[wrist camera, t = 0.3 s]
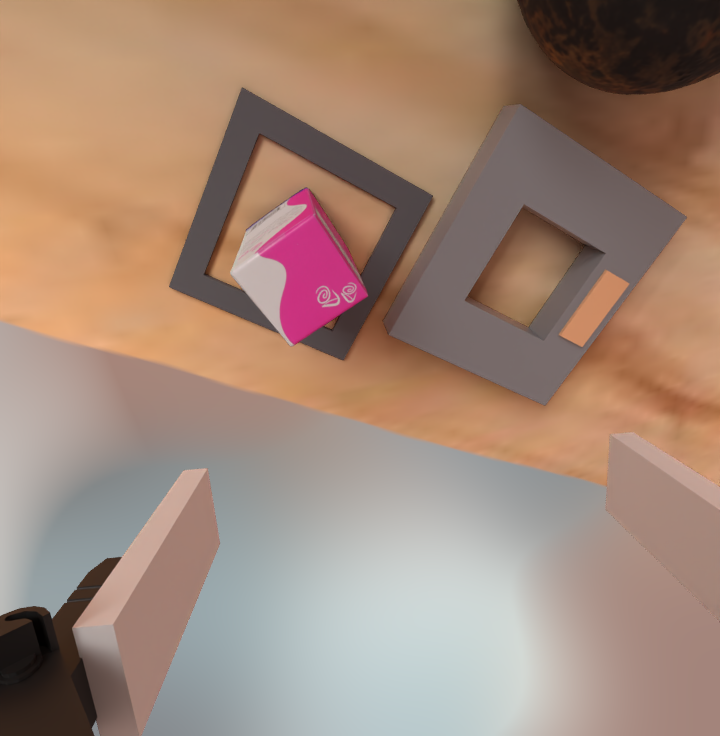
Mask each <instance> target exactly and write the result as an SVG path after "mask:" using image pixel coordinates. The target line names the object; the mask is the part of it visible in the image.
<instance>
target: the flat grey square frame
mask: <svg viewBox="0 0 720 736" xmlns="http://www.w3.org/2000/svg"><path fill="white" fill-rule="evenodd" d="M259 133H260V134H262V135H264V136H265V137H267V138H269V139H271V140H273V141H275V142H276V143H278V144H280V145H282V146H284V147H286V148H287V149H289V150H291V151H293V152H295V153H297V154H298V155H300V156H302V157H304V158H306V159H308V160H309V161H311V162H313V163H315V164H317V165H319V166H320V167H322V168H324V169H326V170H328V171H330V172H331V173H333V174H335V175H337V176H339V177H341V178H342V179H344V180H346V181H348V182H350V183H352V184H353V185H355V186H357V187H359V188H361V189H363V190H364V191H366V192H368V193H370V194H372V195H374V196H375V197H377V198H379V199H381V200H383V201H385V202H386V203H388V204H390V205H392V206H394V207H396V209H395V211H394V213H393V215H392V217H391V218H390V220H389V222H388V224H387V226H386V228H385V230H384V232H383V234H382V236H381V238H380V240H379V241H378V243H377V245H376V247H375V249H374V251H373V253H372V255H371V257H370V259H369V261H368V263H367V264H366V266H365V268H364V270H363V272H362V274H361V276H360V277H361V279H362V281H363V283H364V286H365V288H366V290H367V293H368V297H366V298H365V299H363V300H362V301H360V302H359V303H357V304H356V305H354V306H353V307H351V308H350V309H348V310H347V311H345V312H344V313H342V314H341V315H340V316H339V318H338V320H337V322H336V324H335V326H334V328H333V330H331V329H329V328H327V327H325V326H323V327H321V328H320V329H318V330H316V331H315V332H313V333H312V334H310V335H309V336H307V337H306V338H304V339H303V340H301V341H300V342H301V343H303V344H305V345H308V346H310V347H312V348H315V349H317V350H320V351H322V352H324V353H327V354H329V355H331V356H334V357H336V358H338V359H341V360H344V358H345V357H346V355H347V353H348V351H349V349H350V347H351V346H352V344H353V342H354V340H355V338H356V336H357V335H358V333H359V331H360V329H361V327H362V325H363V324H364V322H365V320H366V318H367V316H368V314H369V313H370V311H371V309H372V307H373V305H374V303H375V302H376V300H377V298H378V296H379V294H380V292H381V291H382V289H383V287H384V285H385V283H386V281H387V280H388V278H389V276H390V274H391V272H392V270H393V268H394V267H395V265H396V263H397V261H398V259H399V257H400V256H401V254H402V252H403V250H404V248H405V246H406V245H407V243H408V241H409V239H410V237H411V235H412V234H413V232H414V230H415V228H416V226H417V224H418V223H419V221H420V219H421V217H422V215H423V213H424V212H425V210H426V208H427V206H428V204H429V202H430V201H431V199H432V197H433V196H432V195H431V194H429V193H427V192H425V191H424V190H422V189H420V188H418V187H416V186H415V185H413V184H411V183H409V182H408V181H406V180H404V179H402V178H401V177H399V176H397V175H395V174H394V173H392V172H390V171H388V170H387V169H385V168H383V167H381V166H380V165H378V164H376V163H374V162H372V161H371V160H369V159H367V158H365V157H364V156H362V155H360V154H358V153H357V152H355V151H353V150H351V149H350V148H348V147H346V146H344V145H343V144H341V143H339V142H337V141H336V140H334V139H332V138H330V137H329V136H327V135H325V134H323V133H321V132H320V131H318V130H316V129H314V128H313V127H311V126H309V125H307V124H306V123H304V122H302V121H300V120H299V119H297V118H295V117H293V116H292V115H290V114H288V113H286V112H285V111H283V110H281V109H279V108H277V107H276V106H274V105H272V104H270V103H269V102H267V101H265V100H263V99H262V98H260V97H258V96H256V95H255V94H253V93H251V92H249V91H248V90H246V89H244V88H242V89H241V92H240V95H239V97H238V100H237V103H236V105H235V108H234V111H233V114H232V116H231V119H230V122H229V125H228V127H227V130H226V133H225V135H224V138H223V141H222V144H221V146H220V149H219V152H218V155H217V157H216V160H215V163H214V165H213V168H212V171H211V174H210V176H209V179H208V182H207V184H206V187H205V190H204V193H203V195H202V198H201V201H200V204H199V206H198V209H197V212H196V214H195V217H194V220H193V223H192V225H191V228H190V231H189V234H188V236H187V239H186V242H185V244H184V247H183V250H182V253H181V255H180V258H179V261H178V264H177V266H176V269H175V272H174V274H173V277H172V280H171V283H170V285H169V287H170V288H172V289H175V290H177V291H180V292H182V293H184V294H187V295H189V296H191V297H194V298H196V299H199V300H201V301H203V302H206V303H208V304H210V305H213V306H215V307H218V308H220V309H222V310H225V311H227V312H229V313H232V314H234V315H236V316H239V317H241V318H244V319H246V320H248V321H251V322H253V323H255V324H258V325H260V326H263V327H265V328H267V329H270V330H272V331H274V332H277V333H279V332H278V330H277V329H276V328H275V327H274V326H273V325H272V323H271V322H270V321H269V320H268V319H267V318H266V316H265V315H264V314H263V313H262V312H261V310H260V309H259V308H258V307H257V306H256V304H255V303H254V302H253V301H252V300H251V299H250V297H249V296H248V295H247V294H246V293H245V291H243V290H240V289H238V288H236V287H233V286H231V285H229V284H227V283H224V282H222V281H220V280H218V279H215V278H213V277H211V276H208V275H206V274H204V273H205V271H206V268H207V266H208V263H209V261H210V258H211V255H212V253H213V250H214V248H215V245H216V243H217V240H218V238H219V235H220V232H221V230H222V227H223V225H224V222H225V220H226V217H227V215H228V212H229V209H230V207H231V204H232V202H233V199H234V197H235V194H236V192H237V189H238V187H239V184H240V181H241V179H242V176H243V174H244V171H245V169H246V166H247V164H248V161H249V158H250V156H251V153H252V151H253V148H254V146H255V143H256V141H257V138H258V136H259ZM279 334H280V333H279Z"/></svg>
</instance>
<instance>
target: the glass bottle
mask: <svg viewBox="0 0 720 736" xmlns="http://www.w3.org/2000/svg"><path fill="white" fill-rule="evenodd" d="M517 1H518V4H519V7H520V9H521V12H522V15H523V17H524V20H525V22H526V25H527V27H528V28H529V30H530V32H531V34H532V36H533V37H534V39H535V40H536V42H537V43H538V45H539V46H540V48H541V49H542V50H543V52H544V53H545V54H546V55H547V56H548V57H549V58H550V60H551V61H552V62H553V63H554V64H555V65H557V66H558V67H559V68H560V69H561V70H563V71H564V72H565V73H567V74H568V75H569V76H571V77H573V78H574V79H576V80H578V81H580V82H582V83H584V84H586V85H588V86H590V87H593V88H597V89H600V90H603V91H606V92H611V93H617V94H626V95H629V94H651V93H659V92H665V91H670V90H674V89H678V88H682V87H684V86H688V85H691V84H694V83H697V82H699V81H701V80H704V79H706V78H709V77H711V76H713V75H715V74H717V73H719V72H720V0H517Z"/></svg>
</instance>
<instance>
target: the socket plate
mask: <svg viewBox="0 0 720 736" xmlns="http://www.w3.org/2000/svg"><path fill="white" fill-rule="evenodd" d="M522 207H523V208H524V209H526V210H528V211H529V212H531V213H533V214H534V215H536V216H538V217H539V218H541V219H543V220H544V221H546V222H548V223H550V224H551V225H553V226H555V227H556V228H558V229H560V230H561V231H563V232H565V233H566V234H568V235H570V236H571V237H573V238H575V239H576V240H578V241H580V242H581V243H583V244H585V246H584V248H583V249H582V251H581V252H580V253H579V255H578V256H577V258H576V259H575V261H574V262H573V264H572V265H571V266H570V268H569V269H568V271H567V272H566V274H565V275H564V277H563V278H562V280H561V281H560V282H559V284H558V285H557V287H556V288H555V290H554V291H553V293H552V294H551V296H550V297H549V298H548V300H547V301H546V303H545V304H544V306H543V307H542V309H541V310H540V311H539V313H538V314H537V316H536V317H535V319H534V320H533V322H532V323H531V325H530V326H529V327H527V326H525V325H523V324H521V323H519V322H517V321H515V320H513V319H511V318H509V317H507V316H505V315H503V314H501V313H499V312H497V311H495V310H493V309H491V308H489V307H487V306H485V305H483V304H481V303H479V302H477V301H475V300H473V299H471V298H470V297H468V294H469V292H470V291H471V289H472V288H473V286H474V284H475V283H476V281H477V279H478V278H479V276H480V275H481V273H482V271H483V270H484V268H485V267H486V265H487V263H488V262H489V260H490V258H491V257H492V255H493V254H494V252H495V250H496V249H497V247H498V246H499V244H500V242H501V241H502V239H503V237H504V236H505V234H506V233H507V231H508V229H509V228H510V226H511V225H512V223H513V221H514V220H515V218H516V216H517V215H518V213H519V212H520V210H521V208H522ZM686 218H687V217H686V216H685V215H683V214H682V213H681V212H679V211H678V210H676V209H675V208H673V207H672V206H670V205H669V204H667V203H666V202H664V201H663V200H661V199H660V198H658V197H657V196H655V195H654V194H653V193H651V192H650V191H648V190H647V189H645V188H644V187H642V186H641V185H639V184H638V183H636V182H635V181H633V180H632V179H630V178H629V177H627V176H626V175H625V174H623V173H622V172H620V171H619V170H617V169H616V168H614V167H613V166H611V165H610V164H608V163H607V162H605V161H604V160H602V159H601V158H599V157H598V156H596V155H595V154H594V153H592V152H591V151H589V150H588V149H586V148H585V147H583V146H582V145H580V144H579V143H577V142H576V141H574V140H573V139H571V138H570V137H568V136H567V135H566V134H564V133H563V132H561V131H560V130H558V129H557V128H555V127H554V126H552V125H551V124H549V123H548V122H546V121H545V120H543V119H542V118H540V117H539V116H538V115H536V114H535V113H533V112H532V111H530V110H529V109H527V108H526V107H524V106H523V105H521V104H516V105H507V106H503V108H502V109H501V111H500V113H499V115H498V117H497V118H496V120H495V122H494V124H493V126H492V127H491V129H490V131H489V133H488V134H487V136H486V138H485V140H484V142H483V143H482V145H481V147H480V149H479V151H478V152H477V154H476V156H475V158H474V159H473V161H472V163H471V165H470V167H469V168H468V170H467V172H466V174H465V176H464V177H463V179H462V181H461V183H460V184H459V186H458V188H457V190H456V192H455V193H454V195H453V197H452V199H451V200H450V202H449V204H448V206H447V208H446V209H445V211H444V213H443V215H442V217H441V218H440V220H439V222H438V224H437V225H436V227H435V229H434V231H433V233H432V234H431V236H430V238H429V240H428V242H427V243H426V245H425V247H424V249H423V250H422V252H421V254H420V256H419V258H418V259H417V261H416V263H415V265H414V266H413V268H412V270H411V272H410V274H409V275H408V277H407V279H406V281H405V283H404V284H403V286H402V288H401V290H400V291H399V293H398V295H397V297H396V299H395V300H394V302H393V304H392V306H391V308H390V309H389V311H388V313H387V315H386V316H385V318H384V320H383V323H384V325H385V328H386V330H387V332H388V335H390V336H392V337H394V338H397V339H399V340H401V341H403V342H405V343H408V344H410V345H412V346H414V347H416V348H419V349H421V350H423V351H425V352H427V353H430V354H432V355H434V356H436V357H439V358H441V359H443V360H445V361H447V362H450V363H452V364H454V365H456V366H458V367H461V368H463V369H465V370H467V371H469V372H472V373H474V374H476V375H478V376H480V377H483V378H485V379H487V380H489V381H492V382H494V383H496V384H498V385H500V386H503V387H505V388H507V389H509V390H511V391H514V392H516V393H518V394H520V395H522V396H525V397H527V398H529V399H531V400H533V401H536V402H538V403H540V404H542V405H544V406H545V405H546V404H547V403H548V401H549V400H550V399H551V397H552V396H553V395H554V393H555V392H556V391H557V389H558V388H559V387H560V385H561V384H562V383H563V381H564V380H565V379H566V377H567V376H568V375H569V373H570V372H571V371H572V369H573V368H574V367H575V365H576V364H577V363H578V361H579V360H580V359H581V357H582V356H583V355H584V353H585V352H586V351H587V349H588V348H589V347H590V345H591V344H592V343H593V342H594V340H595V339H596V338H597V336H598V335H599V334H600V332H601V331H602V330H603V328H604V327H605V326H606V324H607V323H608V322H609V320H610V319H611V318H612V316H613V315H614V314H615V312H616V311H617V310H618V308H619V307H620V306H621V304H622V303H623V302H624V300H625V299H626V298H627V296H628V295H629V294H630V292H631V291H632V290H633V288H634V287H635V286H636V284H637V283H638V282H639V280H640V279H641V278H642V277H643V275H644V274H645V273H646V271H647V270H648V269H649V267H650V266H651V265H652V263H653V262H654V261H655V259H656V258H657V257H658V255H659V254H660V253H661V251H662V250H663V249H664V247H665V246H666V245H667V243H668V242H669V241H670V239H671V238H672V237H673V235H674V234H675V233H676V231H677V230H678V229H679V227H680V226H681V225H682V223H683V222H684V221H685V219H686Z"/></svg>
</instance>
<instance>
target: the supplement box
mask: <svg viewBox="0 0 720 736" xmlns="http://www.w3.org/2000/svg"><path fill="white" fill-rule="evenodd" d="M230 274H231V276H232V277H233V278H234V279H235V281H236V282H237V283H238V284H239V285H240V287H241V288H242V289H243V290H244V291H245V293H246V294H247V295H248V296H249V297H250V299H251V300H252V301H253V302H254V303H255V304H256V306H257V307H258V308H259V309H260V310H261V312H262V313H263V314H264V315H265V316H266V318H267V319H268V320H269V321H270V322H271V323H272V325H273V326H274V327H275V328H276V329H277V330H278V332H279V333H280V334H281V335H282V337H283V338H284V339H285V340H286V341H287V343H288V344H289V345H290V346H294V345H295V344H297V343H298V342H300V341H301V340H303V339H304V338H306V337H307V336H309V335H310V334H312V333H313V332H315V331H316V330H318V329H320V328H321V327H323V326H324V325H326V324H327V323H329V322H330V321H332V320H333V319H335V318H336V317H338V316H339V315H341V314H342V313H344V312H345V311H347V310H348V309H350V308H351V307H353V306H354V305H356V304H357V303H359V302H360V301H362V300H363V299H365V298H366V297H368V293H367V290H366V288H365V286H364V283H363V281H362V279H361V277H360V274H359V272H358V270H357V268H356V266H355V263H354V261H353V259H352V256H351V254H350V252H349V250H348V248H347V246H346V245H345V243H344V241H343V240H342V238H341V237H340V235H339V234H338V232H337V230H336V229H335V227H334V226H333V224H332V223H331V221H330V220H329V218H328V217H327V215H326V214H325V212H324V211H323V209H322V208H321V206H320V204H319V203H318V201H317V200H316V198H315V197H314V195H313V194H312V193H311V191H310V190H309V189H308V188H304V189H302V190H301V191H299V192H298V193H296V194H295V195H293V196H292V197H290V198H289V199H287V200H286V201H285V202H283V203H282V204H280V205H279V206H278V207H276V208H275V209H273V210H272V211H271V212H269V213H268V214H266V215H265V216H264V217H262V218H261V219H260V220H258V221H257V222H256V223H254V224H253V225H252V226H250V227H249V228H248V229H246V233H245V236H244V238H243V241H242V244H241V246H240V249H239V251H238V254H237V256H236V259H235V262H234V264H233V267H232V269H231V272H230Z"/></svg>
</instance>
